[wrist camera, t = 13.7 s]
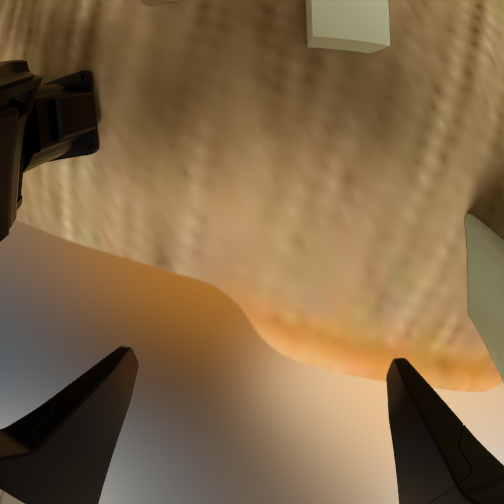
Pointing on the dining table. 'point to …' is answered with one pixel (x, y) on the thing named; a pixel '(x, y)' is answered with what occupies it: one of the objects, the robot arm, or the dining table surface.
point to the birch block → (157, 2)
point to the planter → (486, 286)
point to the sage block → (348, 25)
